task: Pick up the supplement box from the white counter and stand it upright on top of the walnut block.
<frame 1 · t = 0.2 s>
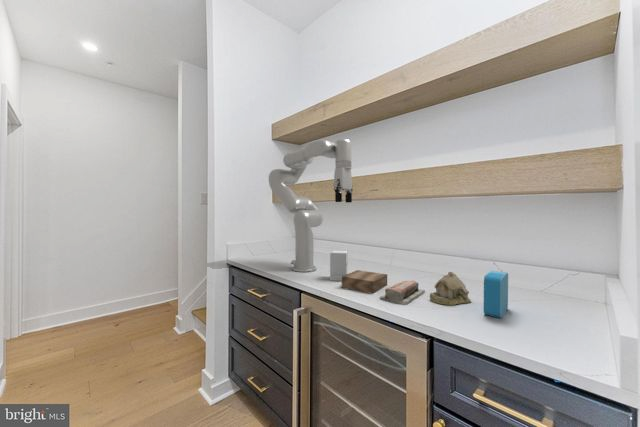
hand: (343, 202, 129), 35 cm above the worktop, tool pointing down, fingers open, 9 cm apart
packaged product: (403, 297, 101), on the worktop
walnut block: (364, 287, 113), on the worktop
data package: (496, 312, 85), on the worktop
supplement box: (339, 279, 125), on the worktop
ceramic model: (450, 300, 97), on the worktop
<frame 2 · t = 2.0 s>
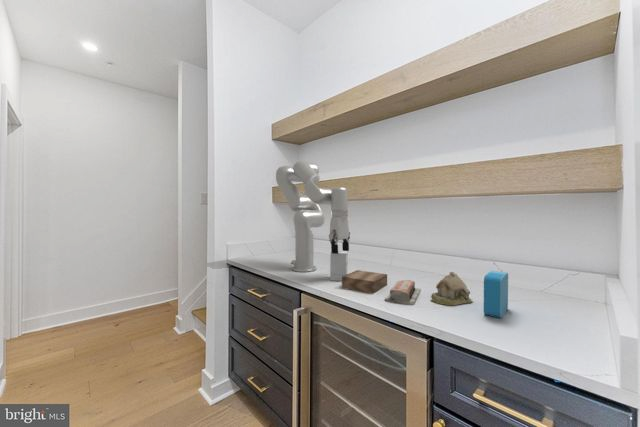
hand: (340, 252, 125), 12 cm above the worktop, tool pointing down, fingers open, 9 cm apart
supplement box: (339, 279, 125), on the worktop, touching gripper
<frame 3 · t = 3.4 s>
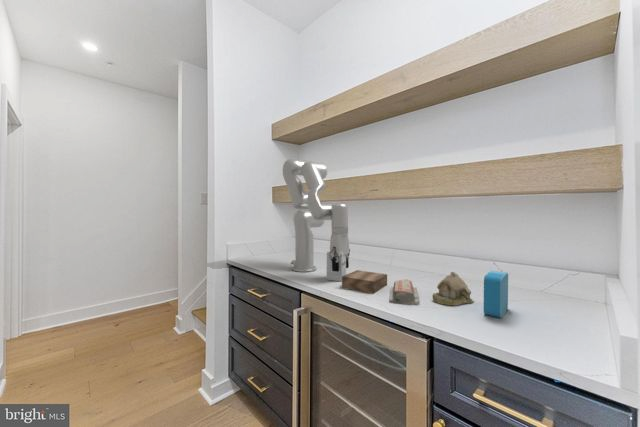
hand: (340, 269, 124), 5 cm above the worktop, tool pointing down, fingers closed on supplement box, 8 cm apart
supplement box: (336, 279, 125), on the worktop, touching gripper
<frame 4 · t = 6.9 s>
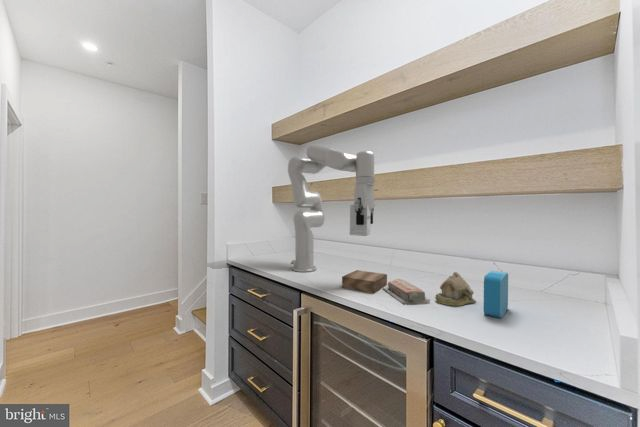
hand: (364, 224, 113), 26 cm above the worktop, tool pointing down, fingers closed on supplement box, 8 cm apart
supplement box: (360, 235, 114), point 21 cm above the worktop, touching gripper
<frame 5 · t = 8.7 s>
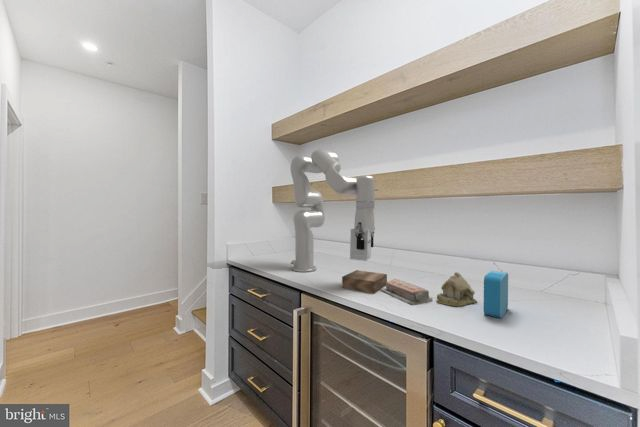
hand: (365, 248, 113), 16 cm above the worktop, tool pointing down, fingers closed on supplement box, 8 cm apart
supplement box: (360, 259, 114), point 11 cm above the worktop, touching gripper
when the fingers open (10 cm above the worktop, at t = 10.4 s): supplement box drops 1 cm, point 4 cm above the worktop.
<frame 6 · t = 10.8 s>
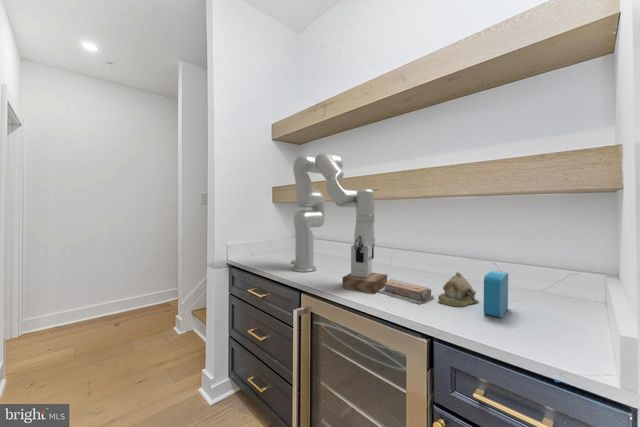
hand: (365, 260, 113), 11 cm above the worktop, tool pointing down, fingers open, 9 cm apart
supplement box: (361, 275, 114), point 4 cm above the worktop
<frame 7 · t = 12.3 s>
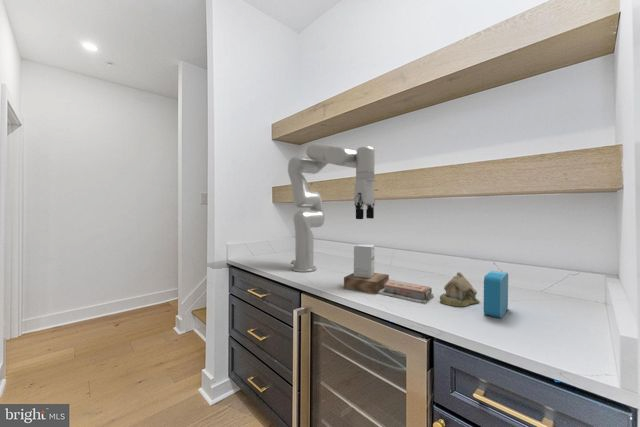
hand: (364, 218, 113), 28 cm above the worktop, tool pointing down, fingers open, 9 cm apart
supplement box: (364, 276, 113), point 4 cm above the worktop
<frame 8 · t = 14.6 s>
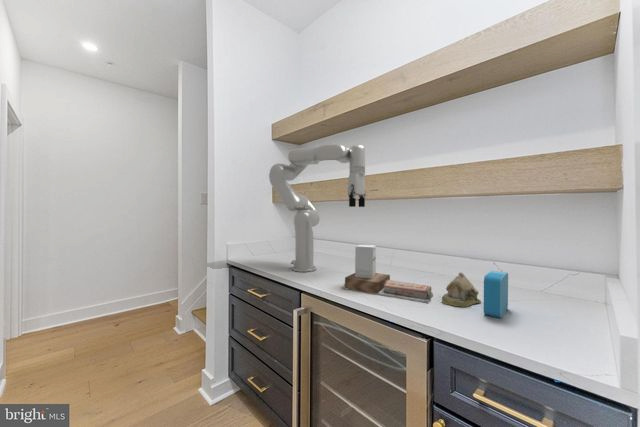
hand: (357, 206, 133), 33 cm above the worktop, tool pointing down, fingers open, 9 cm apart
walnut block: (367, 288, 113), on the worktop, touching supplement box
supplement box: (365, 276, 113), point 4 cm above the worktop, touching walnut block
at the end: supplement box inside the target area on the walnut block (0.8 cm from its centre), point 4.8 cm above the walnut block's base; supplement box tilted 0°; the gripper is holding nothing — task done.
